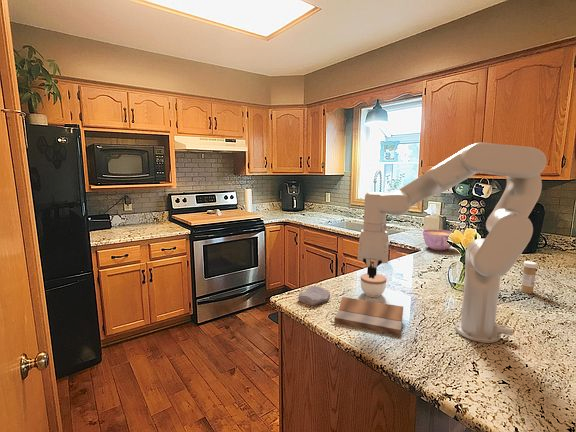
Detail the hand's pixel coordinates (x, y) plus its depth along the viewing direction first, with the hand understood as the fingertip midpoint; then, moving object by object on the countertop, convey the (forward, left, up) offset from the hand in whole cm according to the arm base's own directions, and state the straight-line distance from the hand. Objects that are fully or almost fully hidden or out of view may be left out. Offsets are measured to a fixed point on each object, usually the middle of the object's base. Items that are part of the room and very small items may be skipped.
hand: (371, 276), depth 112 cm
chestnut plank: (0, 0, -13) cm, 13 cm away
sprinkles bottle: (-60, -49, -15) cm, 79 cm away
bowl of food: (-28, -115, -15) cm, 119 cm away
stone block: (+23, -6, -15) cm, 28 cm away
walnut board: (0, +7, -15) cm, 17 cm away
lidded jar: (+2, -20, -15) cm, 25 cm away
